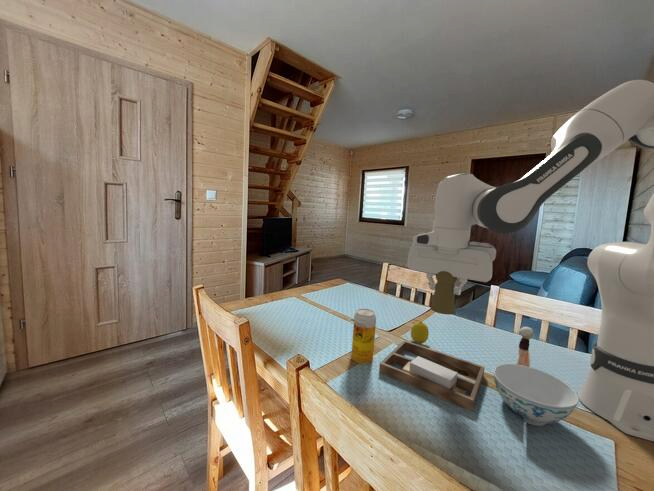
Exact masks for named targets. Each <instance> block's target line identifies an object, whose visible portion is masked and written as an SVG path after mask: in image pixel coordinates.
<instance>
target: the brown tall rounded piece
mask: <svg viewBox="0 0 654 491" xmlns="http://www.w3.org/2000/svg"><path fill="white" fill-rule="evenodd" d="M435 279H436V283H437V284H436V289H435V290H434V293H433V296H432V300H431V304H430V305H431V306H430V310H431V311H432V312H434V313H437V314H441V315H448V316H449V315H454V314H456V307H455V306H456V305H455V304H456V301H455V298H456V297H455V295H456V294H453V292H454V290H453V289H454V287H455V283H456V282H457V280H458V277H453V276H452V274H450V273H449V272H446V271H440V272H438V273H437V274H435Z"/></svg>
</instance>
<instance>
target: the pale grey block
mask: <svg viewBox="0 0 654 491" xmlns="http://www.w3.org/2000/svg"><path fill="white" fill-rule="evenodd" d="M409 369H410V362H408V363H407V364H406V365H405V366H404V367H403V368H401V370H403V371H405V372H408V373H410V374H413V375H415V376H418V377H420V378H423V379H426V378H424V377H422V376H420V375H418V374H416V373H414V372H412V371H410V370H409ZM426 380H428V381H431V380H429V379H426ZM431 382H433V381H431ZM433 383H435V382H433ZM456 383H457V381H456ZM456 383H455V384H454V385H453V386H452V387H451V388H450V389H451V390H453V391H455V388H456ZM436 384H437V383H436ZM438 385H439V384H438Z"/></svg>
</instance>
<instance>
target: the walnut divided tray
mask: <svg viewBox="0 0 654 491" xmlns="http://www.w3.org/2000/svg"><path fill="white" fill-rule="evenodd" d="M405 351H407V352H410V353H412V354H416V355H418V356H420V357H423V358H424V357H425V358H426V359H428V360H429V359H430V360H431V361H432V360H433V361H435V362H438V363H440V364H444V365H447V366H450V367H453V368H455V369H458V370H461V371H463V372H464V371H465V372H467V373H470V374H473V375H475V376H477V377H476V379H475V381H472V380H470V379H467V378H465V377H462V376H459V375H457V383H456V387H457V388H460V389H462V390H465V391H466V392H467V393H469V394H470V396H468V395H466V394H465V395H463V394H461V393H458V392H456V391H453V390H451V389H448V388H446V387H443V386H441V385H438V384H436V383H433V382H431V381H428V380H426V379H423V378H420V377H418V376H415V375H413V374H410V373H408V372H405V371H403V370H402V369H399V368H398V367H395V366H392V364H395V365H397V366H400V367H403V368H404V366H405V365H406V364H407V363H408V362H411V361H413V360H414V359H412V358H410V357H407V356H404V355H402V354H403V353H404V352H405ZM485 368H486V367H485V366H483V365H481V364H478V363H475V362H472V361H469V360H465V359H463V358H459V357H457V356H453V355H451V354H447V353H445V352H442V351H439V350H435V349H432V348H430V347H427V346H423V345H419V344H417V343H415V342H411V341H408V340H405V339H404V340H403V341H401V343H399V344H398V345H397V346H396V347H395V348H394V349H393V350H392V351H391V352H390V353H389V354H388V355H387V356H386V357H385V358H384V359H383V360H381V362H379V369H378V370H379V371H378V372H379V374H382V375H384V376H386V377H389V378H391V379H394V380H395V381H398V382H401V383H403V384H405V385H408V386H411V387H413V388H415V389H418V390H420V391H422V392H425V393H427V394H429V395H431V396H434V397H436V398H438V399H440V400H444V401H446V402H448V403H450V404H453V405H455V406H457V407H460V408H463V409H465V410H467V411H469V412H473V409H474V406H475V402H476V400H477V397H478V394H479V391H480V388H481V385H482V382H483V378H484V375H485Z"/></svg>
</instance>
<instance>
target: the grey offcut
mask: <svg viewBox="0 0 654 491" xmlns="http://www.w3.org/2000/svg"><path fill="white" fill-rule="evenodd" d="M412 360H413V361H411V362H410V369H409V370H410V371H412V372H414V373H416V374H418V375H420V376H422V377H424V378H426V379H429V380H431V381H433V382H435V383H437V384H439V385H441V386H443V387H446V388H448V389H450V388H451V387H452V386H453V385H454V384H455V383H456V381H457V376H458V372H457V371H454V370H452V369H450V368H447V367H445V366H443V365H441V364H438V363H436V362H433V361H432V360H429V359H427V358H424V357H423V356H420V355H418V356H416V357H415V358H413V359H412Z"/></svg>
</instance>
